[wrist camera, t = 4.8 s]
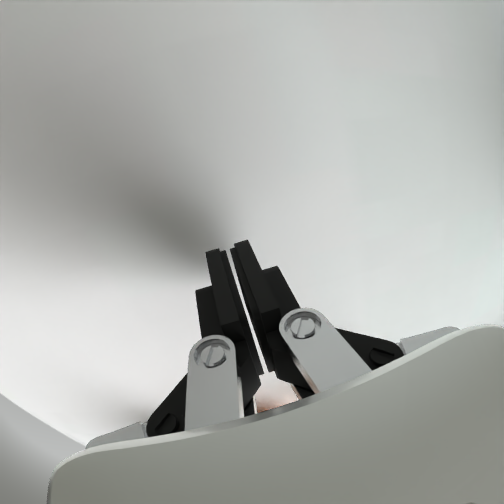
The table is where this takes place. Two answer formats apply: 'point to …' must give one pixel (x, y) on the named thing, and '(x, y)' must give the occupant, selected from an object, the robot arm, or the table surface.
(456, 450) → the robot arm
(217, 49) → the table surface
